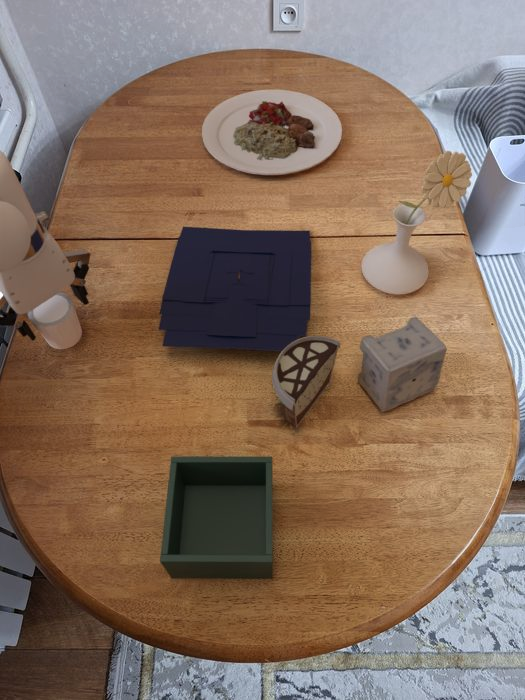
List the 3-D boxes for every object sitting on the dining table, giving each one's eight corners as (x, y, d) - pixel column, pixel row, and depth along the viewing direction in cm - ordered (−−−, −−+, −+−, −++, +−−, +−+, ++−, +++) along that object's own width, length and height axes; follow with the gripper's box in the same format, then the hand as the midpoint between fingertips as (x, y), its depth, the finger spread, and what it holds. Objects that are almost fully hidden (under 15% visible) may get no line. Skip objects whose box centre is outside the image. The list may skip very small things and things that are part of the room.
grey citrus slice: (301, 357, 87) (304, 318, 78) (334, 376, 85) (341, 338, 76) (255, 414, 81) (253, 379, 73) (290, 436, 79) (292, 402, 71)
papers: (152, 357, 85) (148, 341, 83) (183, 238, 105) (180, 222, 102) (309, 364, 84) (310, 348, 82) (310, 242, 104) (311, 226, 101)
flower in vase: (363, 300, 93) (389, 179, 72) (357, 251, 99) (379, 127, 79) (441, 299, 93) (489, 178, 72) (429, 250, 99) (470, 126, 79)
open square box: (272, 578, 68) (272, 562, 61) (171, 578, 68) (159, 561, 61) (272, 481, 75) (272, 456, 68) (180, 481, 75) (171, 456, 68)
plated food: (243, 199, 108) (242, 185, 105) (179, 122, 123) (177, 108, 120) (369, 151, 116) (371, 137, 113) (295, 83, 131) (295, 69, 128)
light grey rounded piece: (71, 311, 93) (58, 284, 87) (94, 336, 90) (81, 309, 84) (35, 334, 90) (19, 307, 84) (57, 360, 87) (41, 334, 81)
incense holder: (405, 351, 87) (419, 310, 78) (436, 392, 83) (455, 353, 74) (351, 374, 85) (360, 334, 76) (380, 417, 80) (393, 380, 72)
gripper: (54, 192, 77) (88, 274, 91) (-62, 258, 70) (-5, 335, 85) (84, 218, 74) (115, 299, 88) (-34, 289, 67) (20, 364, 82)
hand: (56, 316), depth 86 cm, fingers open, 9 cm apart
